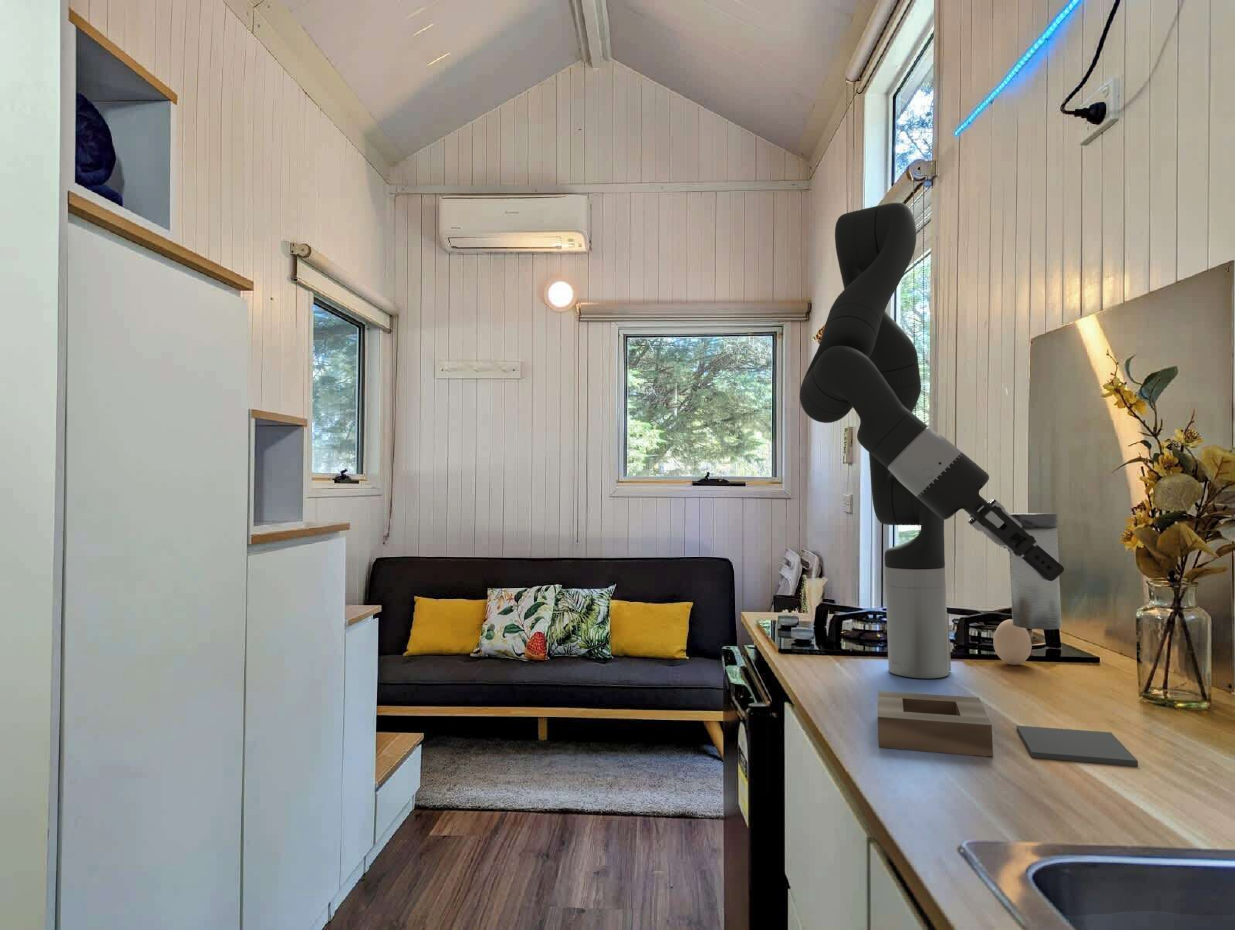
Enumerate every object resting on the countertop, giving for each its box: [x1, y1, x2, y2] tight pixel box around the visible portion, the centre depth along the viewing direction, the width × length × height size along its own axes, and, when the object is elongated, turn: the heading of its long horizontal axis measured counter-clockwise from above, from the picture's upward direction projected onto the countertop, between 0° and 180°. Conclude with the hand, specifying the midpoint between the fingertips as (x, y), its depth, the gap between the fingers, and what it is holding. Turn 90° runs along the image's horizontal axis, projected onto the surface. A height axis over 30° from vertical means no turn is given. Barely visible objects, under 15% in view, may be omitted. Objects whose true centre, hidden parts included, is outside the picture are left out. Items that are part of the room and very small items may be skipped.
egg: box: [993, 618, 1033, 666], centre depth 127 cm, size 6×6×8 cm
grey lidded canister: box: [1008, 512, 1062, 631], centre depth 88 cm, size 5×5×13 cm
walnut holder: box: [877, 690, 994, 758], centre depth 91 cm, size 12×12×4 cm
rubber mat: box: [1016, 725, 1139, 767], centre depth 86 cm, size 10×10×1 cm
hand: (1052, 572), depth 87 cm, fingers closed on grey lidded canister, 5 cm apart
